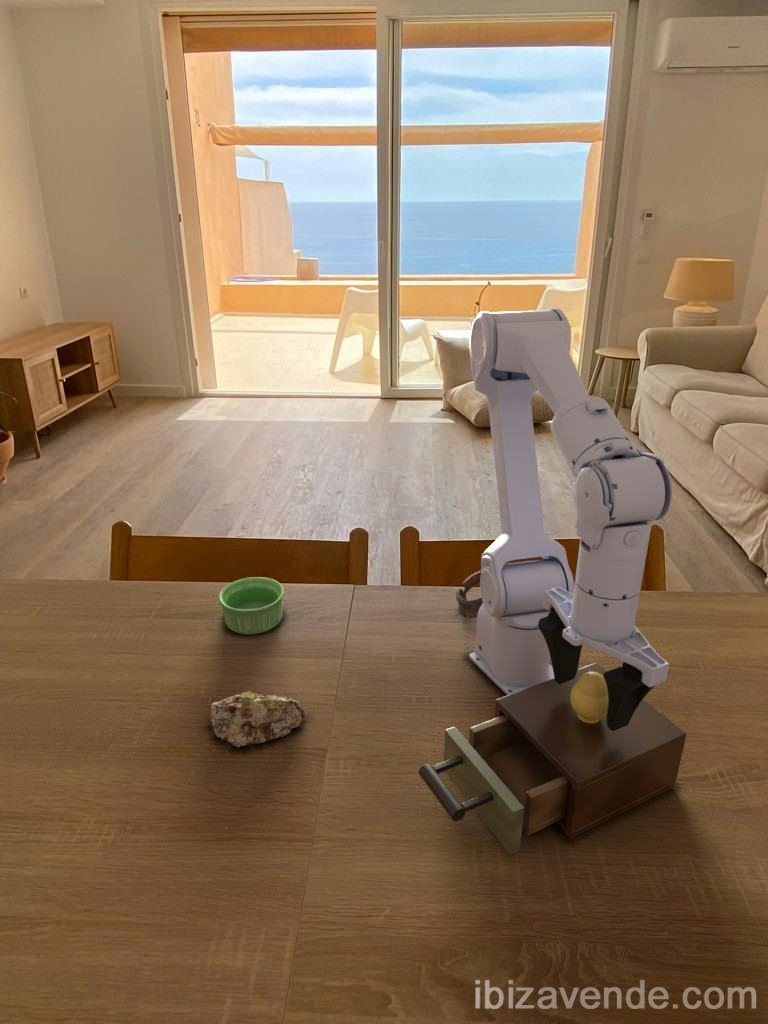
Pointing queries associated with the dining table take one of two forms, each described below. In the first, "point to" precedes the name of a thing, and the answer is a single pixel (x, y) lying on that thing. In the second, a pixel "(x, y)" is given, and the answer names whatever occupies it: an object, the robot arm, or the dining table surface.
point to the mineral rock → (254, 718)
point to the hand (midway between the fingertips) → (590, 701)
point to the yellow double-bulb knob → (590, 697)
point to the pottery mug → (465, 606)
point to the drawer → (500, 781)
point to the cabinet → (597, 751)
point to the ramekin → (252, 604)
